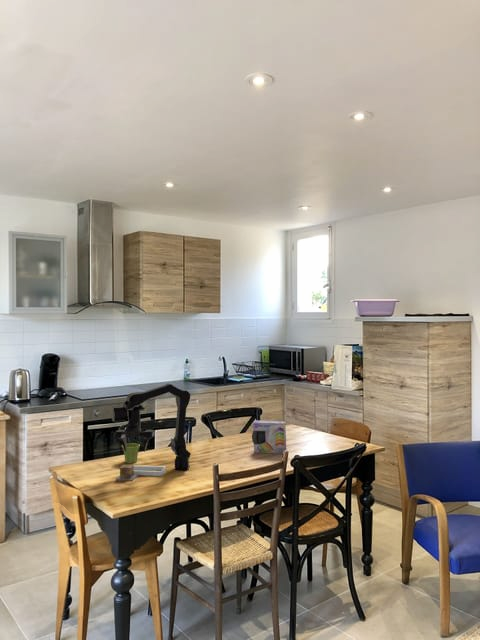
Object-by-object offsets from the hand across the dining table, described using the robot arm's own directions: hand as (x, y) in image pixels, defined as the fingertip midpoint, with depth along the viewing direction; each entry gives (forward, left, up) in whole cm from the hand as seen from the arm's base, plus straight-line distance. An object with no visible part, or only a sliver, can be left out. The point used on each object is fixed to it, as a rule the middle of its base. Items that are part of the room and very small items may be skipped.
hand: (135, 451), depth 251 cm
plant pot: (+10, -23, -12) cm, 28 cm away
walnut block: (+3, +5, -11) cm, 12 cm away
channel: (-4, -5, -12) cm, 13 cm away
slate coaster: (+3, +5, -11) cm, 13 cm away
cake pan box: (-62, -49, -12) cm, 80 cm away
